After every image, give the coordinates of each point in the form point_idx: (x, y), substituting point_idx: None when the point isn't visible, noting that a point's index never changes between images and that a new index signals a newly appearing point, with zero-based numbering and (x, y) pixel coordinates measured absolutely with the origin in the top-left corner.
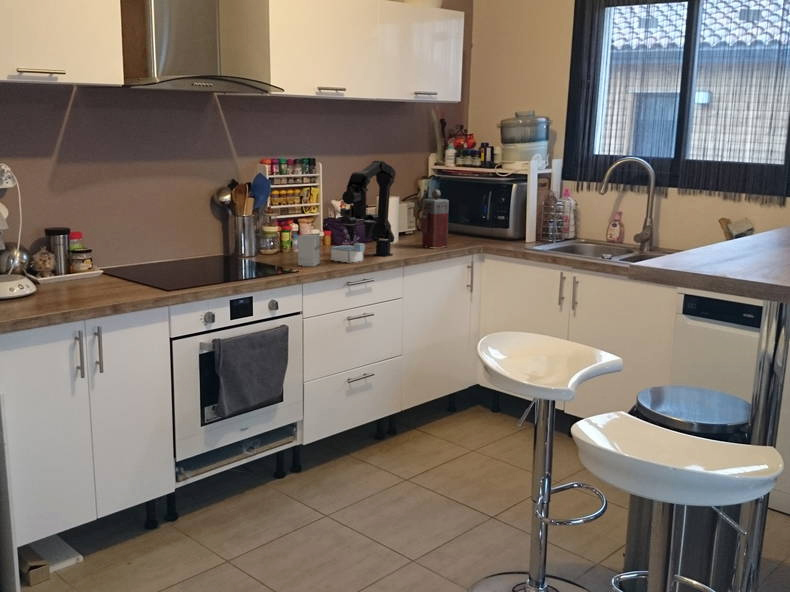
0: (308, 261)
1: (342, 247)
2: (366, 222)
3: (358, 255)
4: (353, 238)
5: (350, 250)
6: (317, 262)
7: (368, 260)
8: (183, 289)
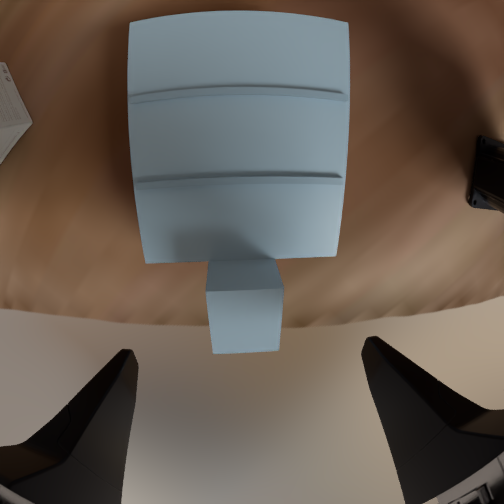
0: None
1: (203, 103)
2: (457, 477)
3: None
4: (131, 386)
5: (164, 259)
6: (6, 150)
7: (344, 221)
8: None
